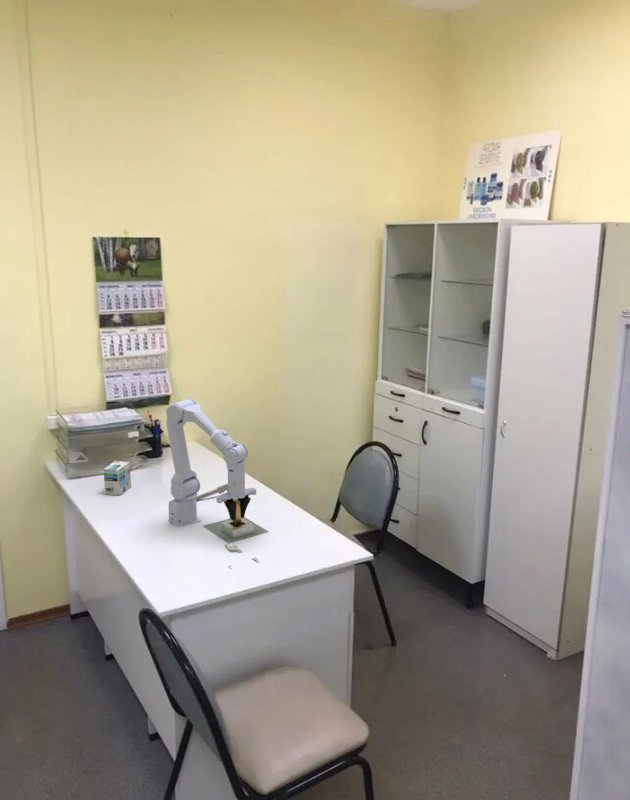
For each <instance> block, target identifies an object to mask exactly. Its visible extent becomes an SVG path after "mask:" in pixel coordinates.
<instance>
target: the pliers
mask: <svg viewBox="0 0 630 800" xmlns="http://www.w3.org/2000/svg"><path fill="white" fill-rule="evenodd" d="M224 548H225V549H226V550H227V551H228V552H231V553H233V552H234V553H238V554H242V553H243V550H242V549H241V548H240V547H238V545H237V544H236V542H233V543H232V546H230V545H229V544H228V543H224ZM253 559H255V560H256V561H258V562H259V563H260V561H259V559H258V558H257V557H254V558H252V560H253ZM255 560H254V561H255ZM256 561H255V562H256ZM228 566H229V567H232V565H228ZM229 567H228V568H229Z"/></svg>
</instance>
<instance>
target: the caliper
mask: <svg viewBox="0 0 630 800" xmlns="http://www.w3.org/2000/svg"><path fill="white" fill-rule="evenodd" d="M225 491H226V492H225ZM227 492H228V483H225V484H221V485H220V486H217V487H216V488H214V489H211V490H209V491H206V492H204V493H200V494H197V496H196V502H197V501H200V500H202V499H205V498H207V497H209V496H213V495H216V494H219V495H222V494H224V493H227Z"/></svg>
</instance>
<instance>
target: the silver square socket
mask: <svg viewBox="0 0 630 800" xmlns="http://www.w3.org/2000/svg"><path fill="white" fill-rule="evenodd" d="M241 521H242V526H238V527H234V526H233V520H229V521H225V522H222V523H221V531H222V532H223V533H225V534H226V535H228V536H229V537H231V538H232V539H236V538H239V537H243V536H246V535H250V534H253V533H254V529H253V524H252V523H250V522H248V521H247V520H245V519H243V518H241Z"/></svg>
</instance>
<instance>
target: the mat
mask: <svg viewBox="0 0 630 800" xmlns="http://www.w3.org/2000/svg"><path fill="white" fill-rule="evenodd" d="M243 519H245V520H247V521H248V522H250V523H252V524H253V529H254V533H253V534H250V535H246V536H243V537H239V538H236V539H232V538H231V537H229V536H228V535H226V534H225V533H223V532H222V531H221V523H222V522H225V521H229V520H231V519H230V518H227V519H226V518H225V519H223V520H220V521H216V522H212V523H208V524H205V525H202V527H203V528H204V529H206V530H208V531H209V532H210V533H212V534H214V535H215V536H217V538H219V539H221V540H222V541H223V542H225V543H226V544H228V545H229V544H231V543H232V544H233V543H236V542H239V541H242V540H245V539H249V538H253V537H257V536H260V535H263V534H268V533H269V531H268V530H267V529H265V528H263V527H262V526H261V525H259V524H257V523H255V522H254V521H252V520H250V519H249V518H247V517H246V516H244V518H243Z"/></svg>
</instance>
